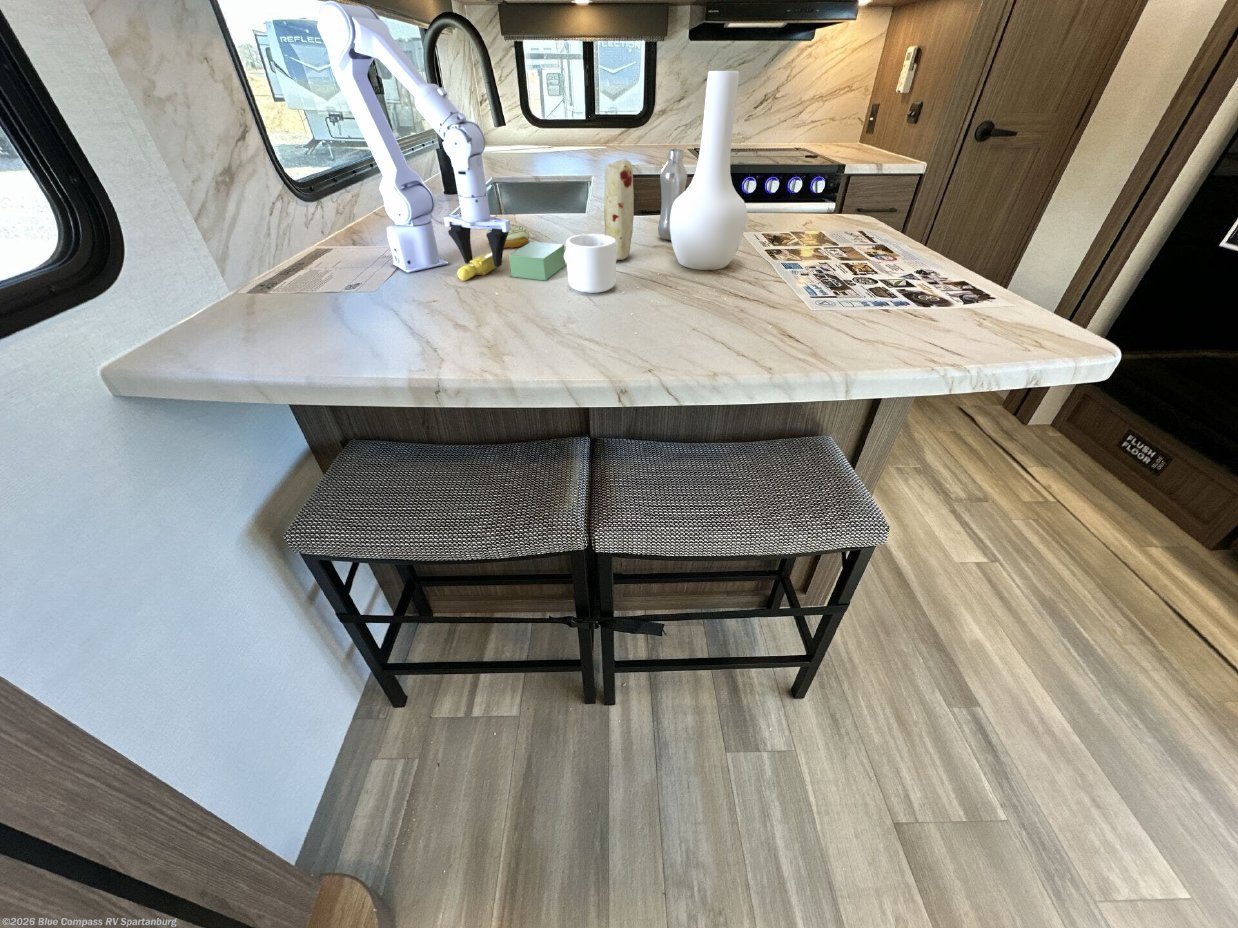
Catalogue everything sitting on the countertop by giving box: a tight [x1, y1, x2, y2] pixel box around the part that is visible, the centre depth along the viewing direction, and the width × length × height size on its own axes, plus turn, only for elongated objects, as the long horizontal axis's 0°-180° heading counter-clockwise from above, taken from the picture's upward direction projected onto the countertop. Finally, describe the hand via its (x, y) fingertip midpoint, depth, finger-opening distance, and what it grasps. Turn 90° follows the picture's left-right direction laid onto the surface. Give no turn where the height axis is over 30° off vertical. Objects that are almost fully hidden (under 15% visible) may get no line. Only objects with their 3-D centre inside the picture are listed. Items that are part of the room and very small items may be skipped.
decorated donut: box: [486, 223, 530, 249], centre depth 127 cm, size 10×11×4 cm
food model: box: [603, 158, 635, 261], centre depth 113 cm, size 10×7×20 cm
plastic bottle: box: [657, 148, 688, 241], centre depth 126 cm, size 6×7×20 cm
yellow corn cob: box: [456, 250, 497, 281], centre depth 110 cm, size 16×4×3 cm, turn 162°
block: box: [508, 241, 566, 281], centre depth 110 cm, size 11×8×4 cm
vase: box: [670, 70, 748, 271], centre depth 106 cm, size 17×17×35 cm
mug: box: [564, 233, 617, 294], centre depth 101 cm, size 12×10×9 cm
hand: (483, 264), depth 110 cm, fingers open, 7 cm apart
